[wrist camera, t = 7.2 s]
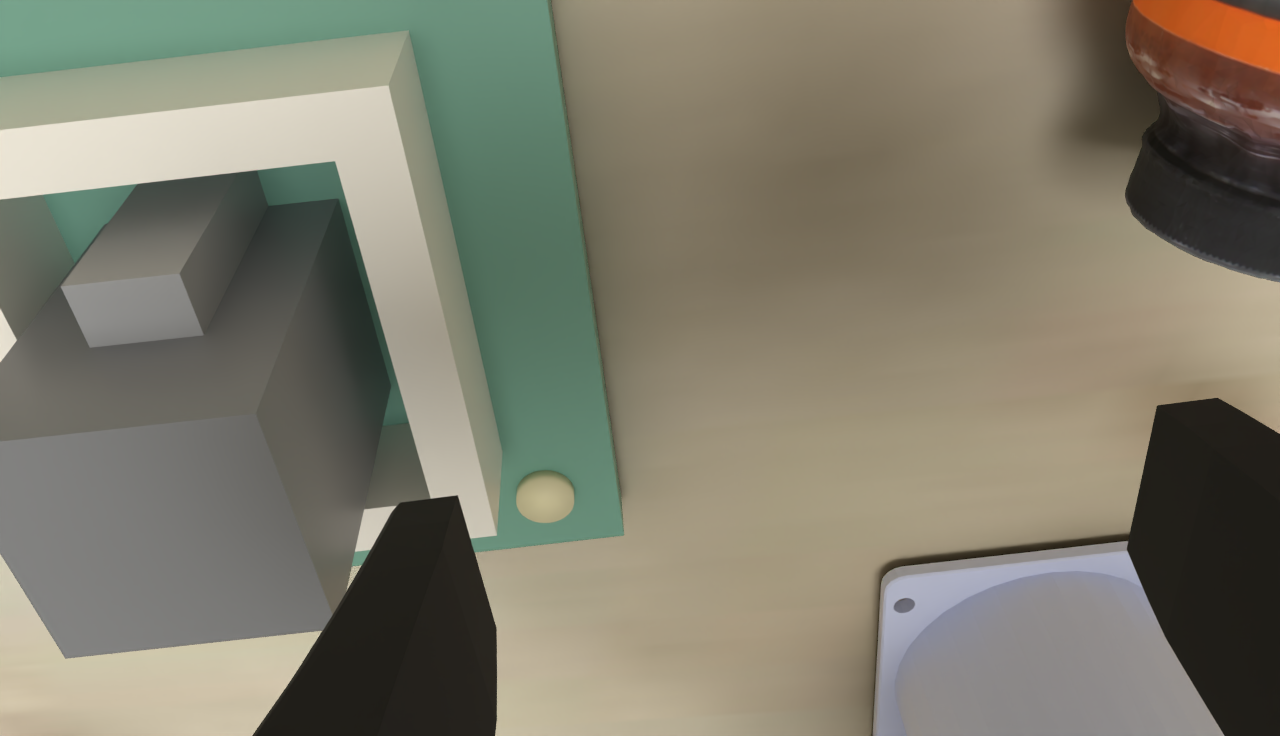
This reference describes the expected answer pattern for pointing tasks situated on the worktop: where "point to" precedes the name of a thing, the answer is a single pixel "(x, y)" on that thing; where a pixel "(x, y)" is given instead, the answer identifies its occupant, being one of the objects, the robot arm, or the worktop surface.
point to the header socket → (263, 139)
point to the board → (476, 197)
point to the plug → (193, 423)
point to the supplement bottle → (1211, 129)
